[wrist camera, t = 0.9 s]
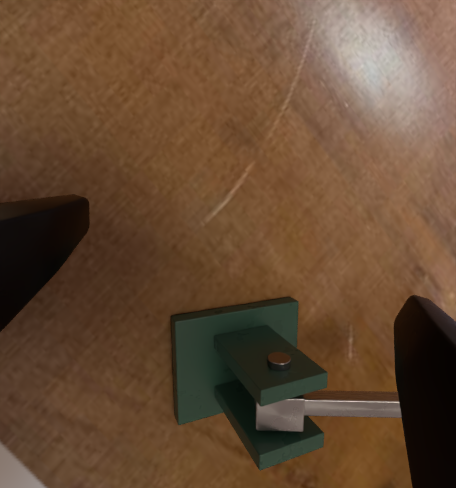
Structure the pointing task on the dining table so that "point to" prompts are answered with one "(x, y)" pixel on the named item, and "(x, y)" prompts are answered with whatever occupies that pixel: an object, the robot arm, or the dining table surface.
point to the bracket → (245, 373)
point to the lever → (325, 408)
